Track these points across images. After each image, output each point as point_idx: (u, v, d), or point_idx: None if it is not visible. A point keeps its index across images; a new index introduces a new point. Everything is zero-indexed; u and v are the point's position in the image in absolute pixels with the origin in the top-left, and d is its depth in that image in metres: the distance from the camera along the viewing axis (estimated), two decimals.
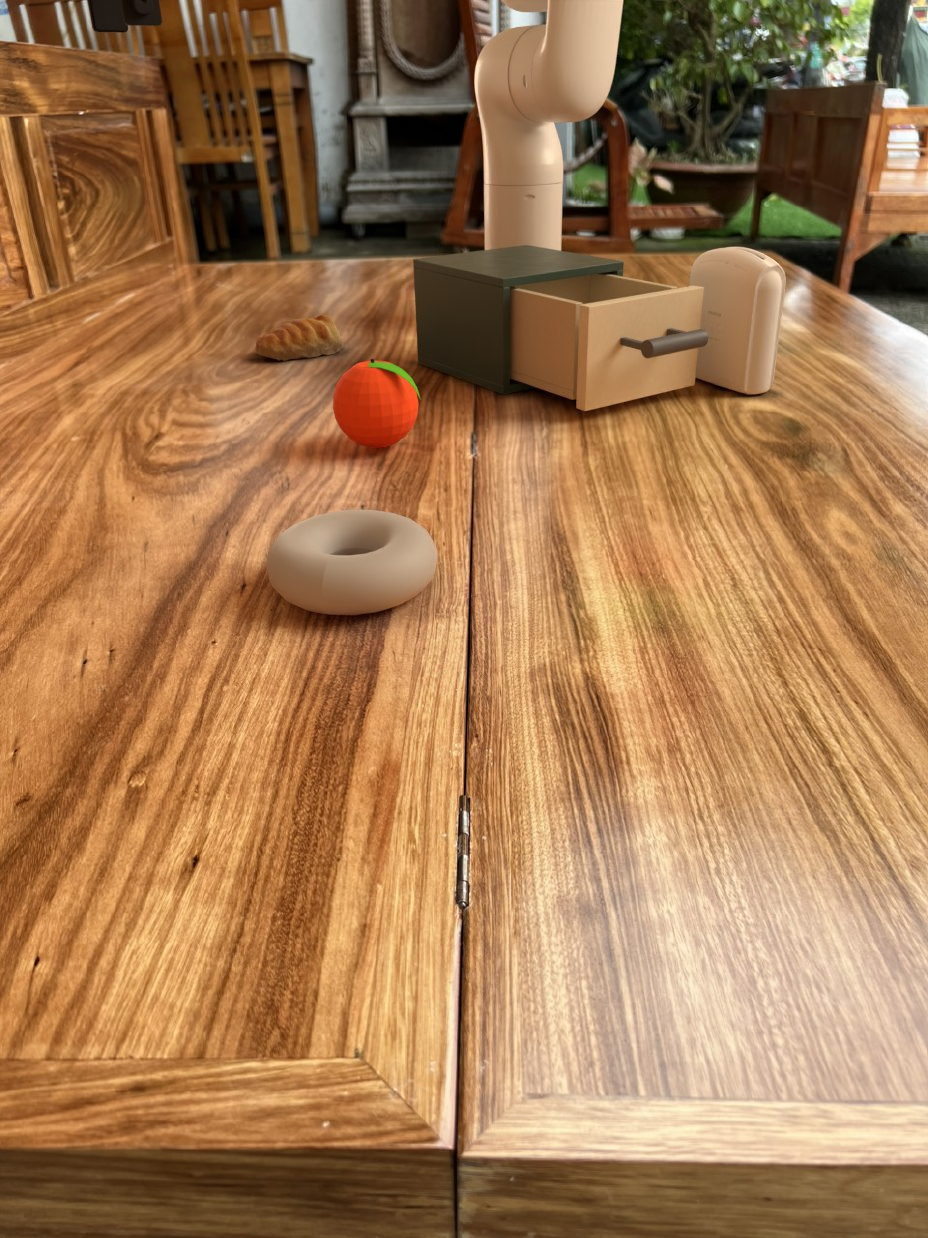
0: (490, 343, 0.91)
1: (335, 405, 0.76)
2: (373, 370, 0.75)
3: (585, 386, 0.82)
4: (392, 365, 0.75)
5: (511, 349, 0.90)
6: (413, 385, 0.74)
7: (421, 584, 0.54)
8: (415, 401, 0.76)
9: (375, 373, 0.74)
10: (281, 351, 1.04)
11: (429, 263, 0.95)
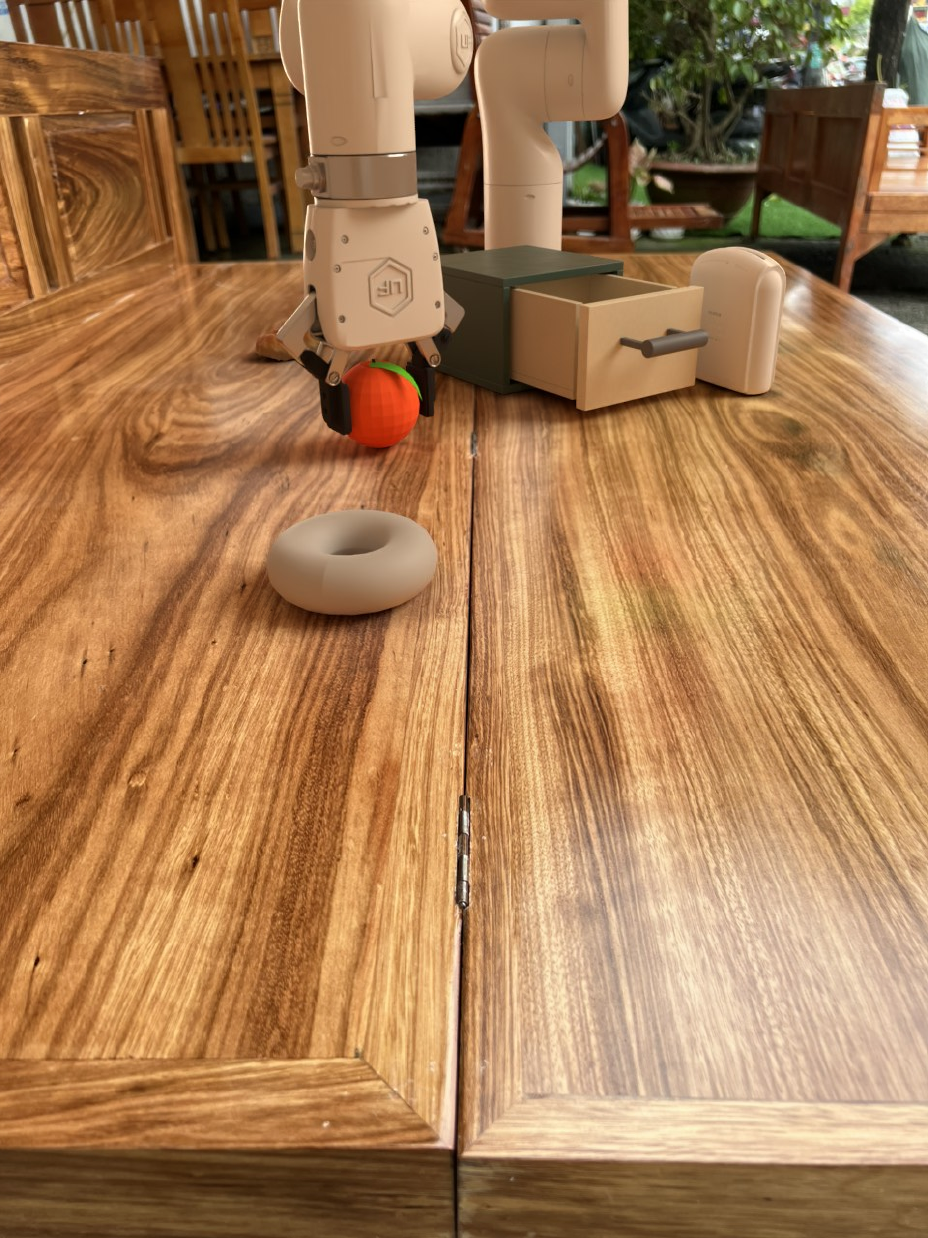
0: (490, 343, 0.91)
1: None
2: (374, 370, 0.75)
3: (585, 386, 0.82)
4: (393, 365, 0.75)
5: (511, 349, 0.90)
6: (414, 385, 0.74)
7: (421, 584, 0.54)
8: (416, 401, 0.76)
9: (376, 373, 0.74)
10: (281, 351, 1.04)
11: None
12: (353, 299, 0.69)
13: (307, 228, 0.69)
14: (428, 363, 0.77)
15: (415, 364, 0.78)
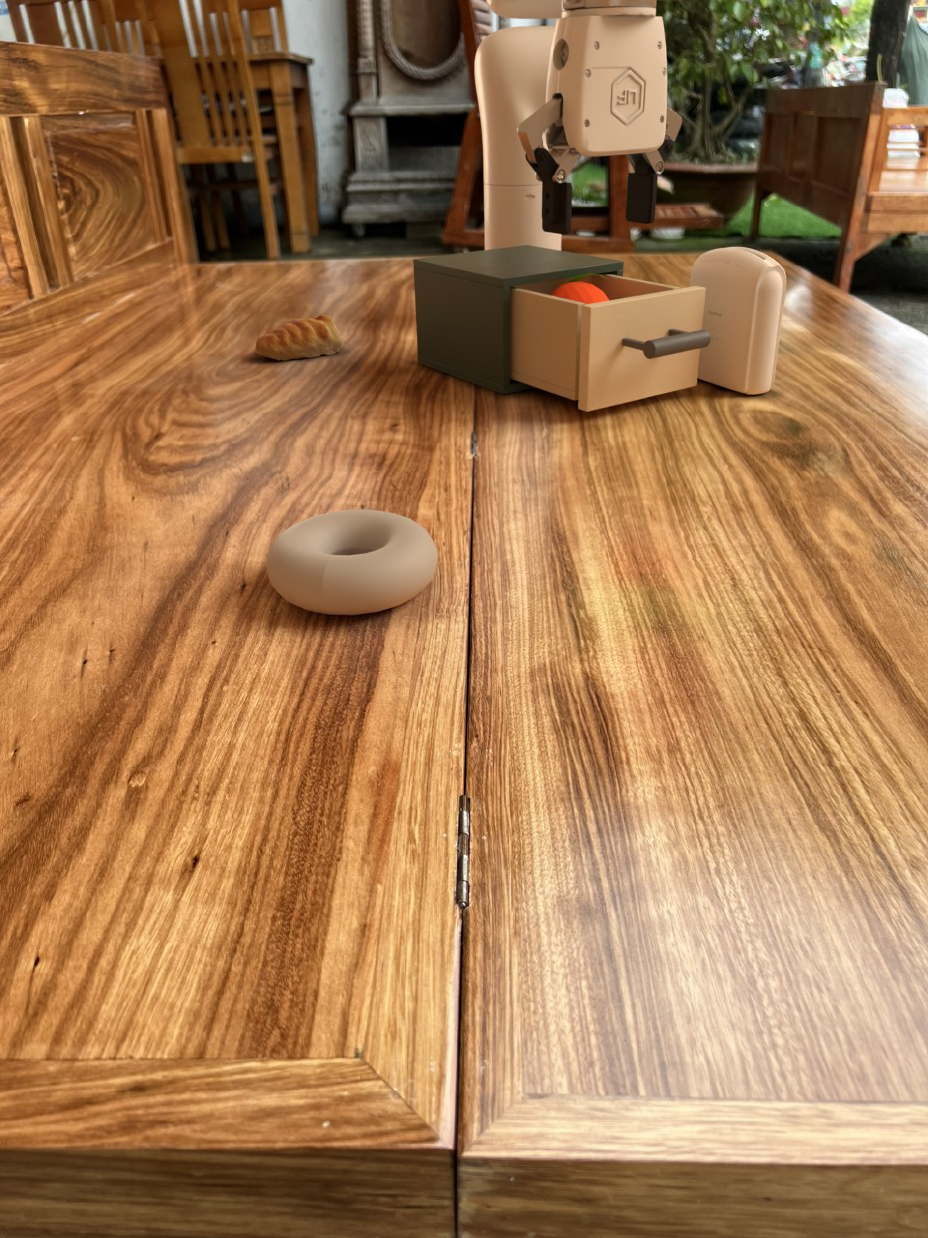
0: (490, 343, 0.91)
1: None
2: None
3: (586, 387, 0.82)
4: (576, 281, 0.91)
5: (513, 349, 0.90)
6: (597, 274, 0.89)
7: (421, 584, 0.54)
8: (605, 295, 0.90)
9: (565, 284, 0.90)
10: (281, 351, 1.04)
11: (429, 263, 0.95)
12: (597, 104, 0.76)
13: (557, 39, 0.76)
14: (653, 170, 0.84)
15: (639, 173, 0.85)
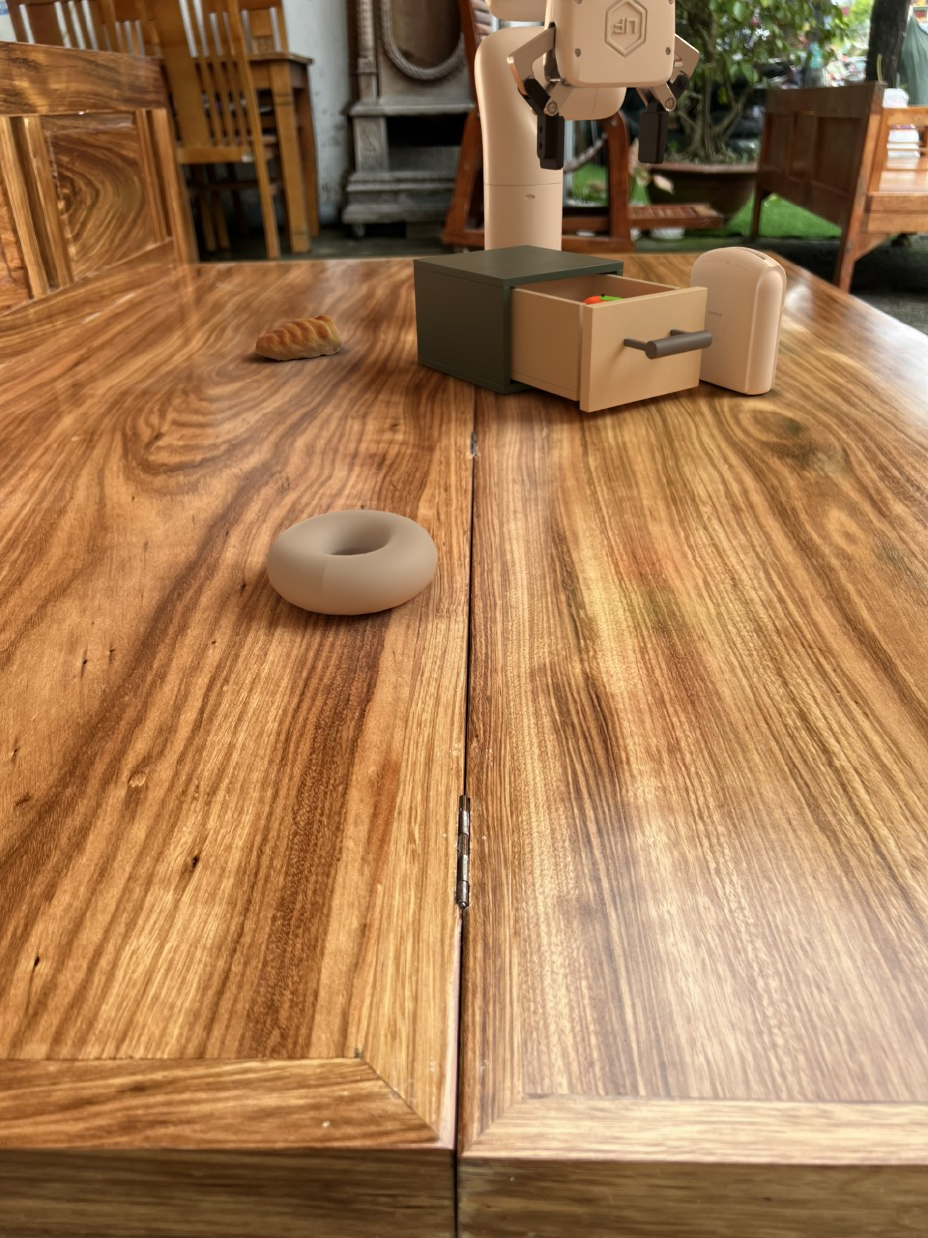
0: (490, 343, 0.91)
1: None
2: None
3: (588, 387, 0.82)
4: None
5: (514, 350, 0.90)
6: None
7: (421, 584, 0.54)
8: None
9: None
10: (281, 351, 1.04)
11: (429, 263, 0.95)
12: (590, 33, 0.74)
13: None
14: (663, 107, 0.81)
15: (650, 111, 0.82)
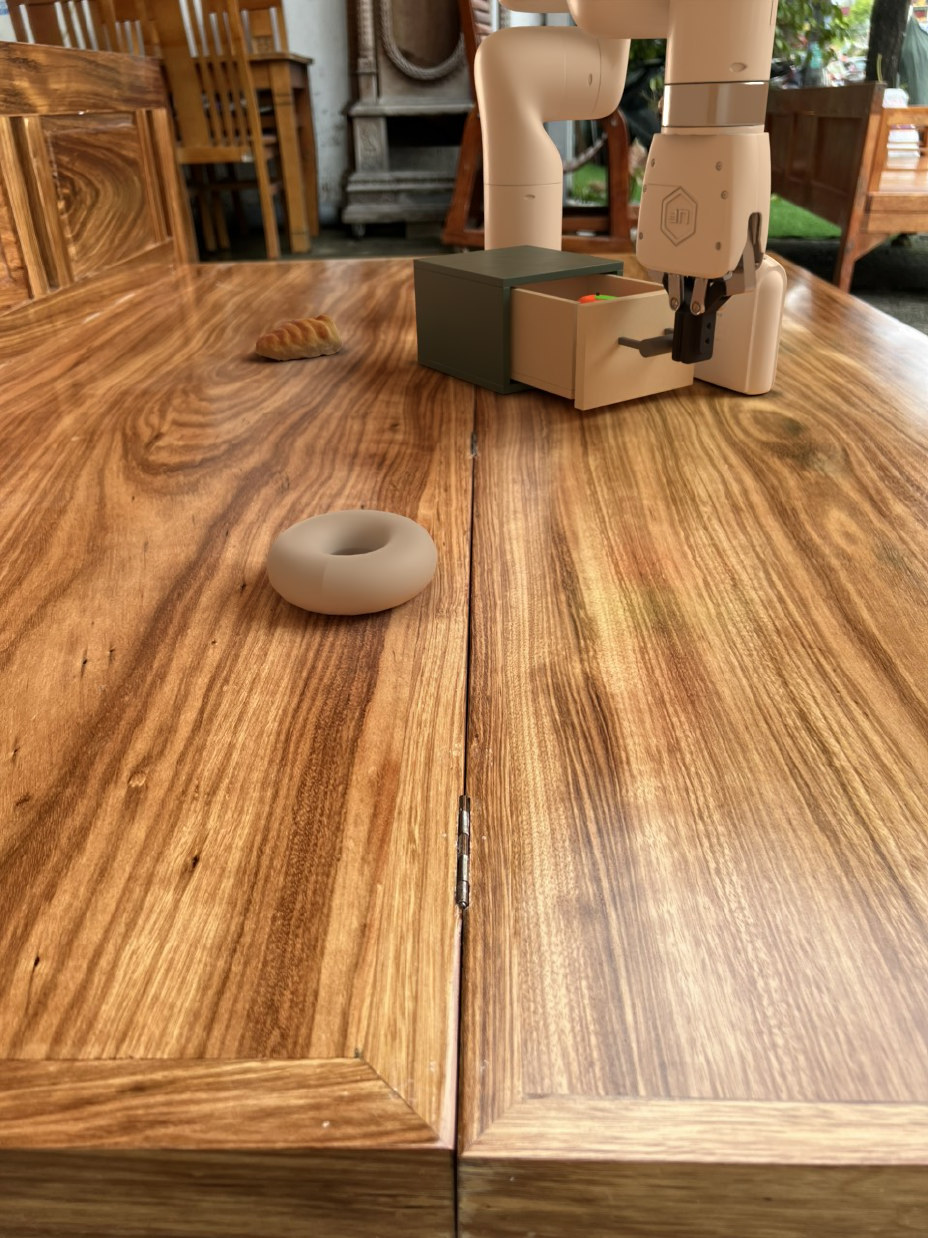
0: (490, 343, 0.91)
1: None
2: None
3: (583, 385, 0.82)
4: (616, 297, 0.87)
5: None
6: None
7: (421, 584, 0.54)
8: None
9: None
10: (281, 351, 1.04)
11: (429, 263, 0.95)
12: (650, 219, 0.76)
13: None
14: (691, 309, 0.77)
15: None
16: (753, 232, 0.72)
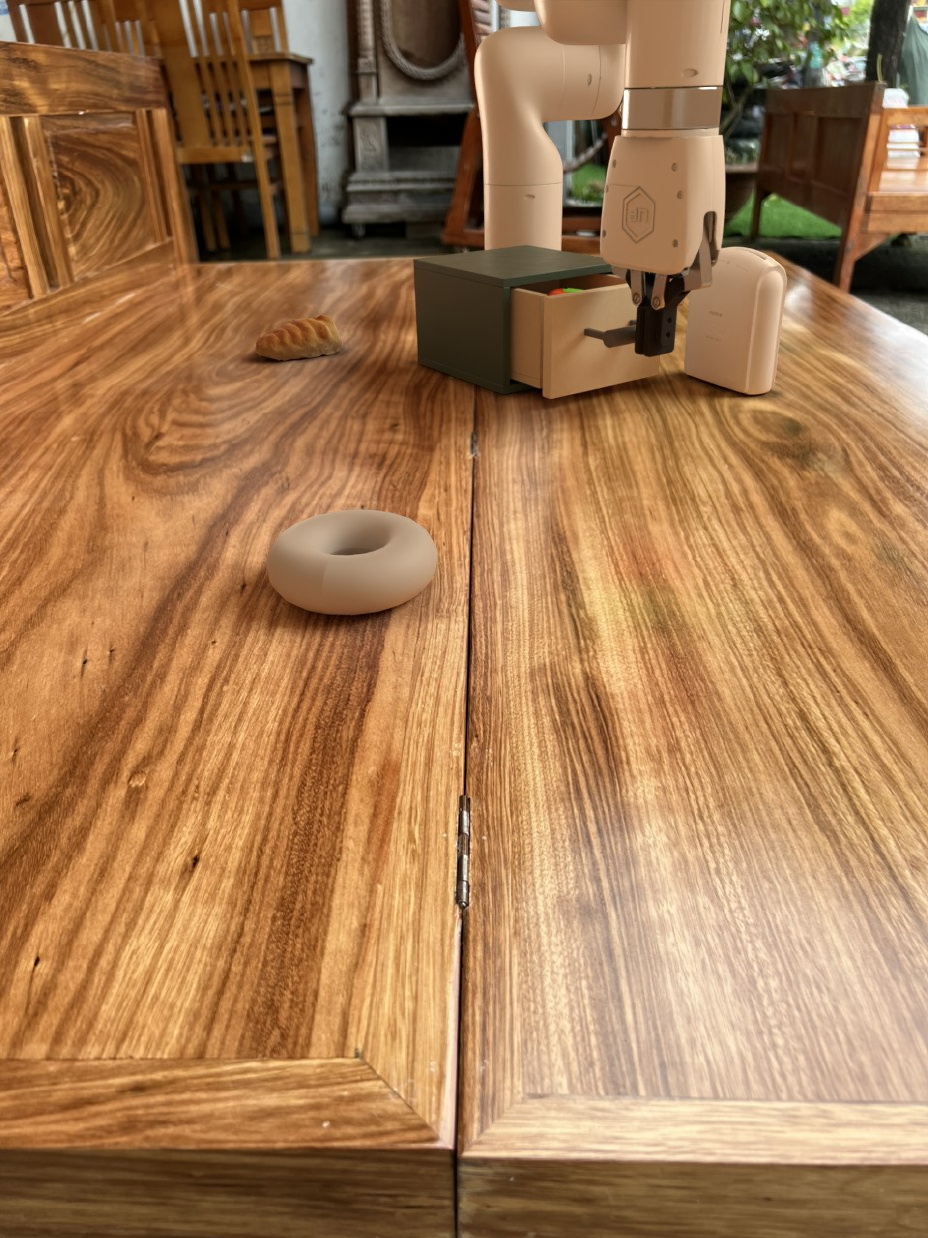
0: (490, 343, 0.91)
1: None
2: None
3: (550, 375, 0.86)
4: None
5: None
6: None
7: (421, 584, 0.54)
8: None
9: None
10: (281, 351, 1.04)
11: (429, 263, 0.95)
12: (612, 218, 0.79)
13: None
14: (652, 304, 0.80)
15: None
16: (709, 230, 0.75)
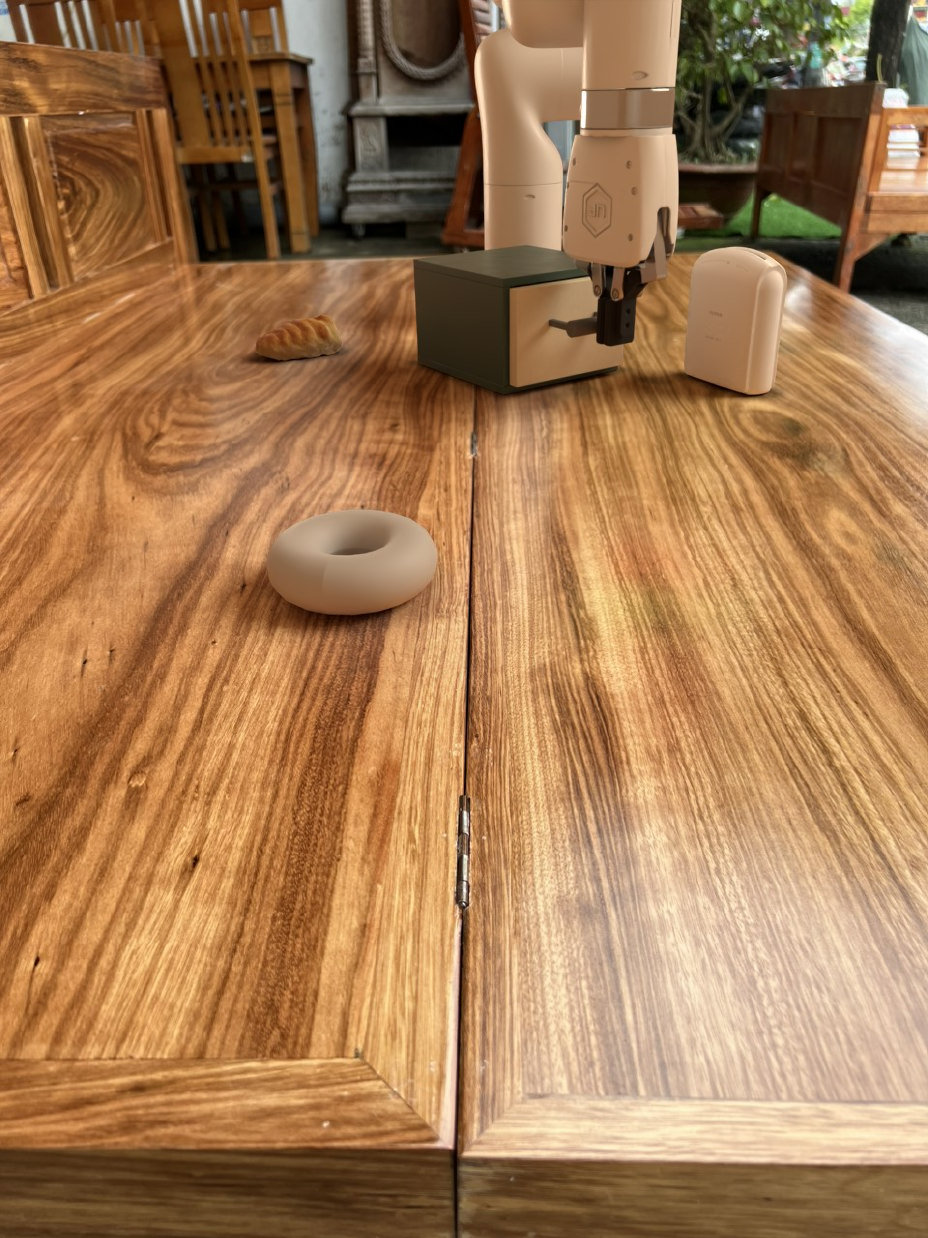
0: (490, 343, 0.91)
1: None
2: None
3: (516, 364, 0.89)
4: None
5: None
6: None
7: (421, 584, 0.54)
8: None
9: None
10: (281, 351, 1.04)
11: (429, 263, 0.95)
12: (573, 213, 0.83)
13: None
14: (612, 296, 0.84)
15: None
16: (663, 225, 0.79)
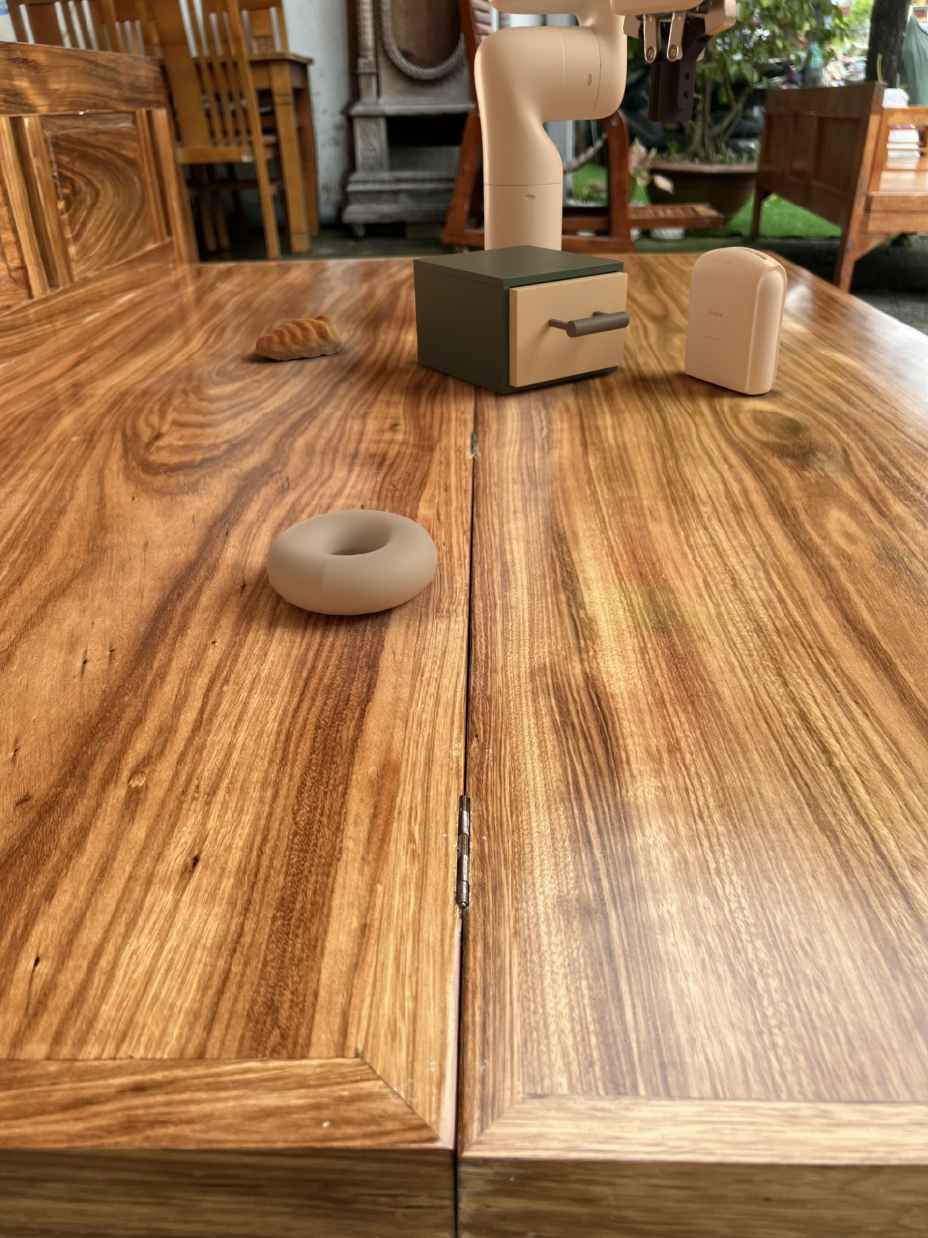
0: (490, 343, 0.91)
1: None
2: None
3: (516, 364, 0.89)
4: None
5: None
6: None
7: (421, 584, 0.54)
8: None
9: None
10: (281, 351, 1.04)
11: (429, 263, 0.95)
12: None
13: None
14: (668, 56, 0.72)
15: None
16: None
